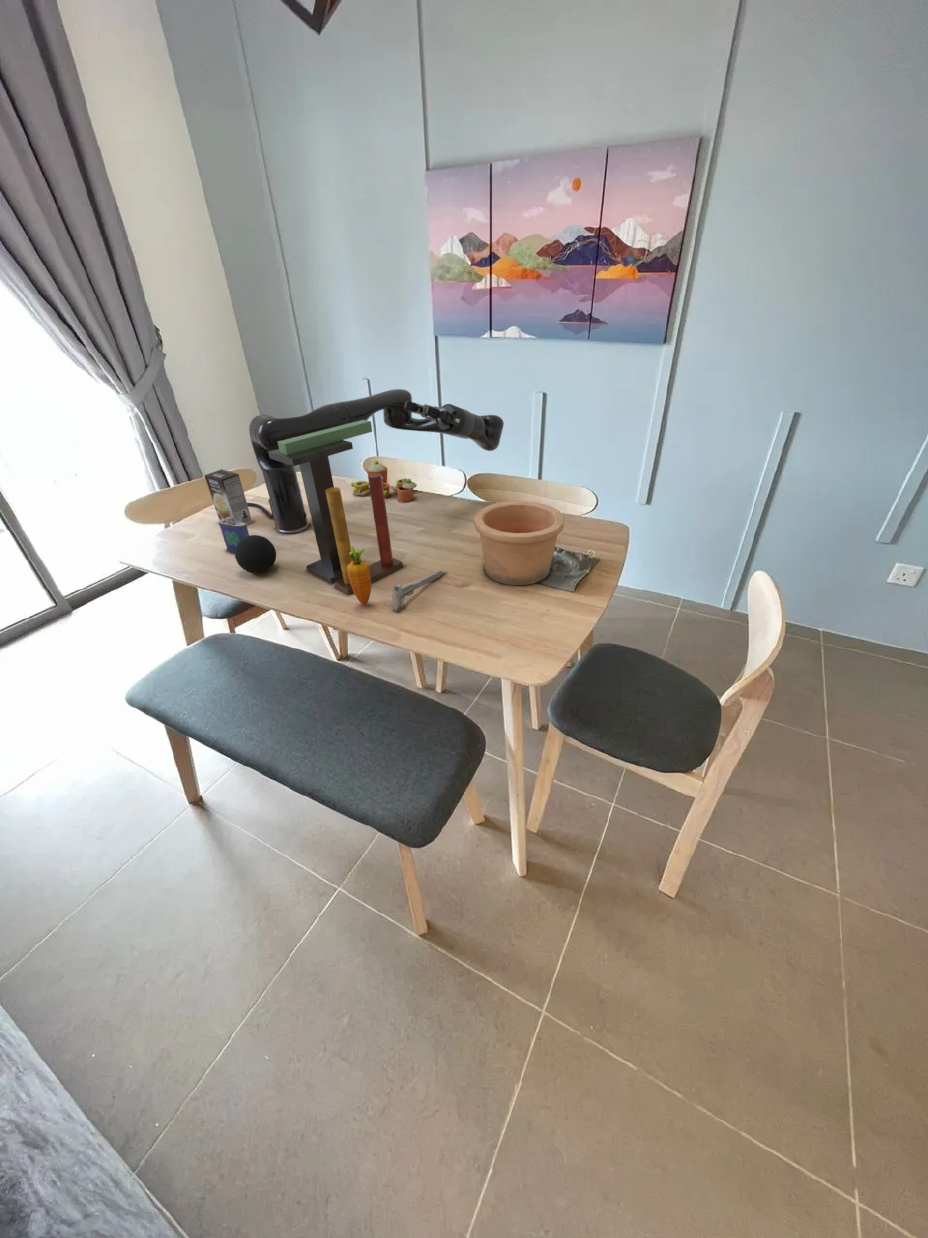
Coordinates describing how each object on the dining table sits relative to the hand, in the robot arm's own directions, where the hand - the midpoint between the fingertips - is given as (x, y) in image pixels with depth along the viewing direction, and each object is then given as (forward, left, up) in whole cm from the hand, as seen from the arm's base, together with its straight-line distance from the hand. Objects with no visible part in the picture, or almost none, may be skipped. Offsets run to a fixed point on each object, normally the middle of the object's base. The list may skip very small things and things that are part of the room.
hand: (416, 407), depth 130 cm
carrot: (+11, -41, -35) cm, 56 cm away
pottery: (+35, -9, -35) cm, 51 cm away
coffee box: (-59, -24, -35) cm, 73 cm away
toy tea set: (-31, +20, -35) cm, 51 cm away
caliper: (+19, -30, -35) cm, 50 cm away
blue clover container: (-40, -37, -35) cm, 65 cm away
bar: (-6, -27, -3) cm, 28 cm away
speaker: (-25, -42, -35) cm, 60 cm away
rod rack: (+4, -30, -35) cm, 46 cm away
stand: (-7, -32, -35) cm, 48 cm away
